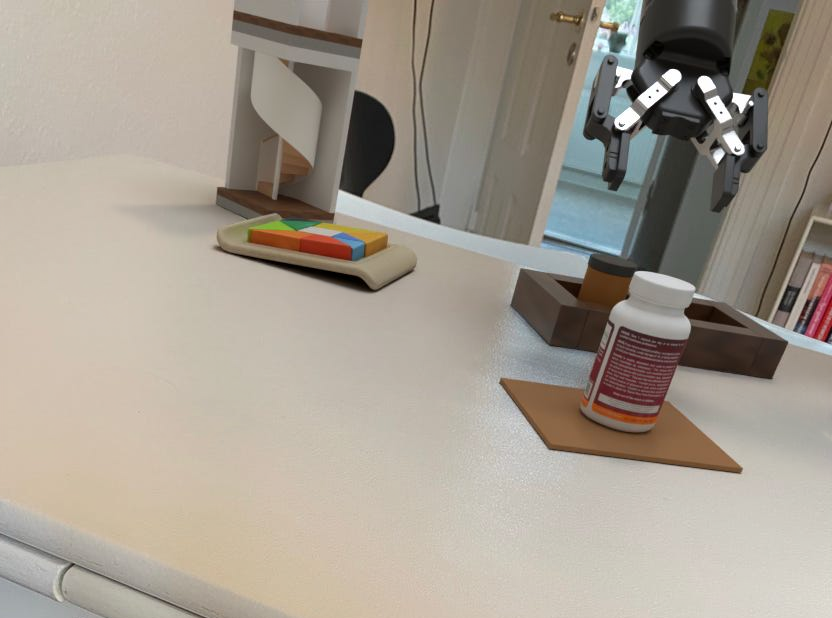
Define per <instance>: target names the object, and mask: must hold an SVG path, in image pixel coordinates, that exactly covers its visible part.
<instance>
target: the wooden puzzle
mask: <svg viewBox="0 0 832 618" xmlns="http://www.w3.org/2000/svg"><path fill="white" fill-rule="evenodd" d="M388 240H389V233H387V232H382V231H376V230H370V229H366V228H365V229H364V228H359V227H353V226H347V225H341V224H335V223H333V224H330V223H323V222H319V221H313V220H308V219H301V218H296V217H290V218H287V219H282V218H281V217H280V215H278V214H276V213H273V214H269V215H265V216H261V217H257V218H253V219H245V220H241V221H238V222H235V223H234V222H233V223H230V224H227V225H222V226H219V227H218V229H217V231H216V241H217V244H218V245H219V246H220V248H221V249H223V250H224V251H226V252H227V253H231V254H236V255H242V256H245V257H246V256H247V257H252V258H257V259H263V260H269V261H274V262H279V263H285V264H289V265H296V266H300V267H307V268H313V269H317V270H323V271H327V272H328V271H329V272H335V273H339V274H345V275H349V276H355V277H358V278H360V279H362V280H363V281H364V283H366V285H367V286H368V287H369V289H371V290H373V291H376V290H378V289H380V288H383V287H384V286H386V285H388V284H389V283H391V282H393V281H395V280H397V279H399V278H401V277H402V276H405V275H406V274H407V273H409V272H411V271H413V270H414V269H415V268H416V267H417V265H418V257H417V255H416V253H415V252H414V250H413V249H411V248H410V247H408V246H406V245H403V244H397V243H391V242H388Z"/></svg>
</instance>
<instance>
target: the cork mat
mask: <svg viewBox="0 0 832 618" xmlns="http://www.w3.org/2000/svg"><path fill="white" fill-rule="evenodd" d="M499 383H500V384H501V386H502V387H503V388H504V390H505V391H506V392H507V394H508V395H509V396H510V398H511V399H512V400H513V402H514V403H515V405H516V406H517V407H518V408H519V410H520V411H521V412H522V414H523V415H524V416H525V418H526V420H528V422H529V423H530V425H531V426H532V427H533V429H534V430H535V431H536V432H537V434H538V435H539V436H540V438H541V439H542V441H543V442H544V444H545V445H546V446H547V447H548V449H550V450H556V451H562V452H563V451H564V452H565V451H566V452H571V453H572V452H573V453H579V454H580V453H581V454H588V455H595V456H603V457H604V456H605V457H611V458H618V459H619V458H620V459H627V460H628V459H629V460H635V461H644V462H652V463H659V464H667V465H675V466H683V467H691V468H698V469H699V468H700V469H707V470H715V471H722V472H731V473H739V474H742V472H743V471H744V467H742V466H741V465H740V464H739V463H737V461H736V460H735V459H734V458H733V457H731V456H730V455H729V454H728V453H727V452H725V451H724V450H723V449H722V448H721V447H720V446H719V445H718V444H717V443H716V442H715V441H713V440H712V439H711V438H710V437H709V436H708V435H707V434H706V433H704V432H703V431H702V430H701V429H700V428H699V427H698V426H697V425H696V424H694V423H693V421H691V420H690V419H689V418H688V417H687V416H685V415H684V414H683V413H682V412H681V411H680V410H679V409H678V408H677V407H675V406H674V404H672V403H671V402H670V401H669V400H664V402H663V405H662V407H661V410H660V412H659V415H658V418H657V420H656V422H655V425H654V426H653V428H652V429H650V430H648V431H645V432H638V433H634V432H624V431H620V430H616V429H612V428H609V427H606V426H604V425H601V424H599V423H597V422H595V421H593V420H591V419H590V418H588V417H587V416H586V415H584V414H583V412H582V411H581V401H582V397H583V394H584V391H585V388H578V387H571V386H566V385H565V386H563V385H556V384H550V383H544V382H543V383H542V382H536V381H529V380H523V379H522V380H521V379H515V378H508V377H500V379H499Z"/></svg>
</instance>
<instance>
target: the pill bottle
mask: <svg viewBox="0 0 832 618" xmlns="http://www.w3.org/2000/svg"><path fill="white" fill-rule="evenodd" d="M696 289H697V288H696V286H694V285H693V284H692V283H690V282H688V281H686V280H683V279H680V278H677V277H674V276H671V275H667V274H663V273H657V272H653V271H645V270H636V272H635V273H634V275H633V278H632V280H631V283H630V286H629V292H630V293H631V295H630V297H629V299H627V300H624V301H621V302H619V303H618V304H616V305H615V306H614V307H613V309H612V311H611V314H610V316H609V319H608V322H607V325H606V328H605V331H604V334H603V337H602V340H601V343H600V346H599V349H598V352H596V355H595V358H594V361H593V365H592V367H591V369H590V370H591V371H590V373H589V377H588V379H587V383H586V385H585V388H584V389H585V391H584V394H583V397H582V401H581V411H582V412H583V414H584V415H586V416H587V417H588V418H590V419H591V420H593V421H595V422H597V423H599V424H601V425H604V426H606V427H609V428H612V429H616V430H620V431H624V432H634V433H638V432H645V431H648V430H650V429H652V428H653V426H654V425H655V422H656V420H657V418H658V415H659V412H660V410H661V407H662V405H663V402H664V401H665V399H666V397H667V394H668V391H669V389H670V386H671V384H672V382H673V378H674V376H675V373H676V370H677V368H678V363H679V360H680V358H681V355H682V353H683V350H684V348H685V345H686V342H687V340H688V337H689V334H690V330H691V325H690V322H689V320H688V318H687V317H686V316H685V315H684V310H685V308H687V307H689V305H690V304H691V301H692V298H693V297H694V296H695V293H696Z"/></svg>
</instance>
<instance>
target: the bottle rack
mask: <svg viewBox="0 0 832 618" xmlns="http://www.w3.org/2000/svg"><path fill="white" fill-rule="evenodd" d="M583 280H584V277H583V278H581V277H578V276H577V277H576V276H571V275H566V274H565V275H564V274H558V273H553V272H548V271H547V272H546V271H541V270H536V269H531V268H530V269H528V268H525V267H524V268H523V267H520V269H519V273H518V275H517V279H516V283H515V286H514V290H513V294H512V298H511V301H510V306H511V307H512V308H513V309H514V310H515V311H516V312H517V311H518V312H519V313H520V314H521V315H522V316H521V315H520V314H519V313H518V312H517V313H518V314H519V315H520V316H521V317H522V318H523V319H524V320H525V321H526V322H527V323H528V324H529V326H530V327H532V328H533V330H534V331H535V332H537V334H538V335H539V336H540V337H541V338H542V339H543V340H544V341H545V342H546V343H547V344H548V345H549V346H554V347H560V348H561V347H562V348H565V349H573V350H581V351H587V352H593V353H597V352H598V349H599V346H600V343H601V340H602V337H603V334H604V331H605V328H606V325H607V322H608V319H609V316H610V314H611V311H612V309H613V307H614V306H608V305H602V304H596V303H590V302H584V301H579V300H578V296H579V292H580V289H581V286H582V283H583ZM630 295H631V293H630V292H629V290H628V293H627V296H626V299H625V300H627V299H629V297H630ZM684 315H685V316H686V317H687V318H688V320H689V322H690V325H691V330H690V334H689V337H688V340H687V342H686V345H685V348H684V350H683V353H682V355H681V358H680V360H679V363H678V365H679V366H685V367H692V368H697V369H703V370H712V371H716V372H717V371H718V372H723V373H724V372H725V373H731V374H737V375H744V376H750V377H757V378H763V379H770V380H772V379H773V378H774V375H775V373H776V371H777V369H778V367H779V365H780V362H781V360H782V359H783V355H784V354H785V351H786V349H787V347H788V345H789V341H788V340H787V339H785V338H784V337H782V336H780V335H778V334H777V333H775V332H774V331H772V330H771V329H769V328H767V327H765V326H763V325H762V324H761V323H759V322H757V321H756V320H754V319H752V318H750V317H749V316H748V315H746V314H744V313H743V312H741V311H739V310H737V309H736V308H734V307H733V306H731V305H729V304H728V303H726V302H722V301H716V300H711V299H706V298H705V299H704V298H699V297H694V296H693V298H692V301H691V304H690V305H689V307H687V308H685V310H684Z"/></svg>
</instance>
